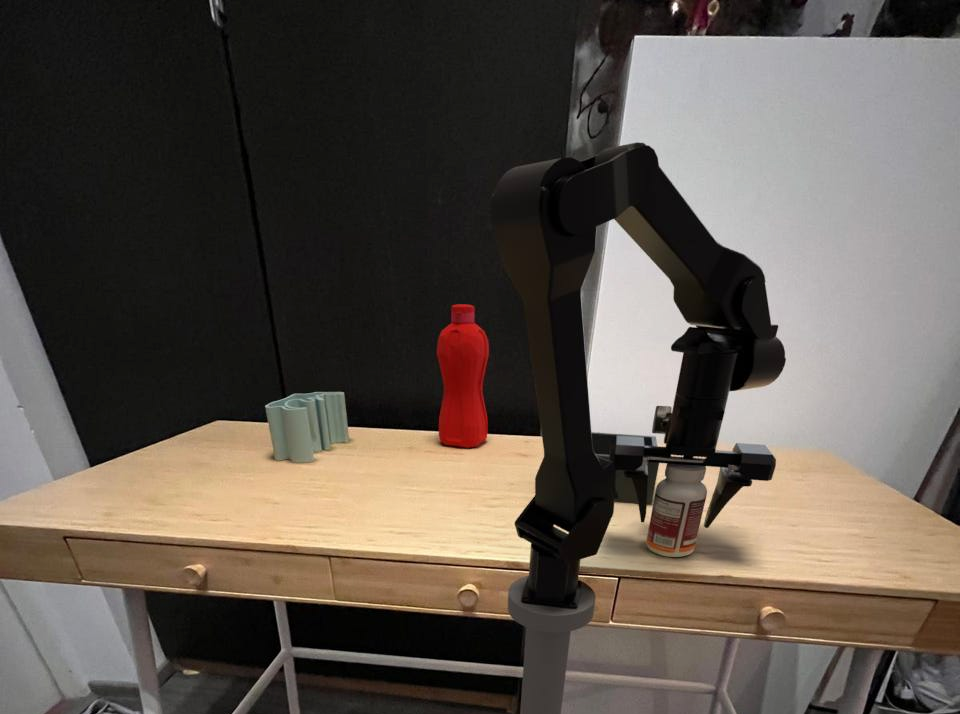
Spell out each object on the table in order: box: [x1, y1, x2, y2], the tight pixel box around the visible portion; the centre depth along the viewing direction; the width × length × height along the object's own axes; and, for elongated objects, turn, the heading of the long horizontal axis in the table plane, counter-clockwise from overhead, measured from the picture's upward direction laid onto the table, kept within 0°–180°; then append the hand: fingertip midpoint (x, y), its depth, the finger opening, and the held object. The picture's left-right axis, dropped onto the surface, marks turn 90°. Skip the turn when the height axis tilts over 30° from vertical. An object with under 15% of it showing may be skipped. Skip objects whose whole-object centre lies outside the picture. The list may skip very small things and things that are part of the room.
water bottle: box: [436, 303, 490, 449], centre depth 112 cm, size 9×11×25 cm
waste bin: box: [591, 431, 660, 505], centre depth 94 cm, size 15×15×7 cm
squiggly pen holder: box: [264, 391, 350, 464], centre depth 110 cm, size 18×10×9 cm, turn 171°
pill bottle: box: [646, 463, 708, 558], centre depth 72 cm, size 6×6×11 cm
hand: (674, 524), depth 73 cm, fingers closed on pill bottle, 7 cm apart
